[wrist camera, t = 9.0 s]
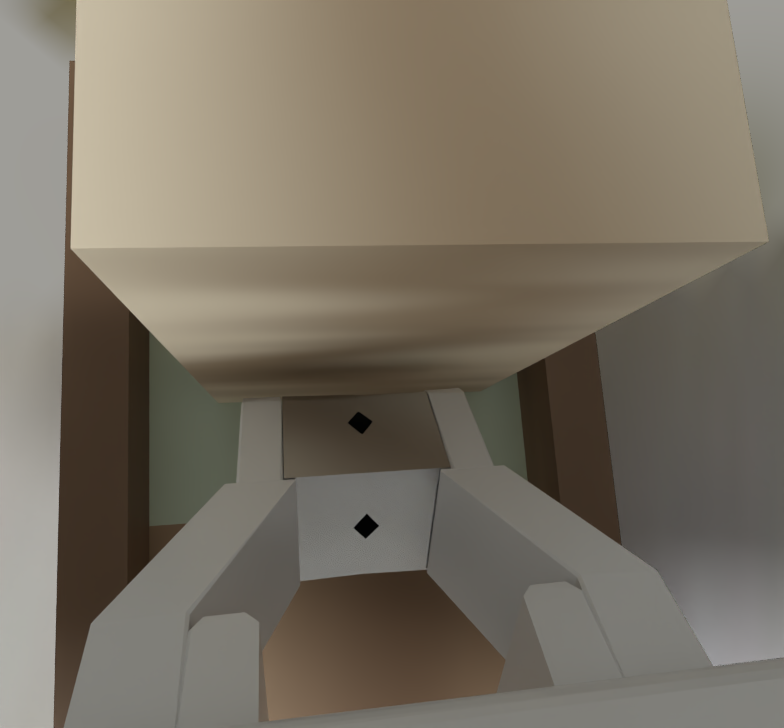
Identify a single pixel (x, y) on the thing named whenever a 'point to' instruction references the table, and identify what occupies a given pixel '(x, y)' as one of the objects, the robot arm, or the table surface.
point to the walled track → (219, 466)
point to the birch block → (402, 179)
